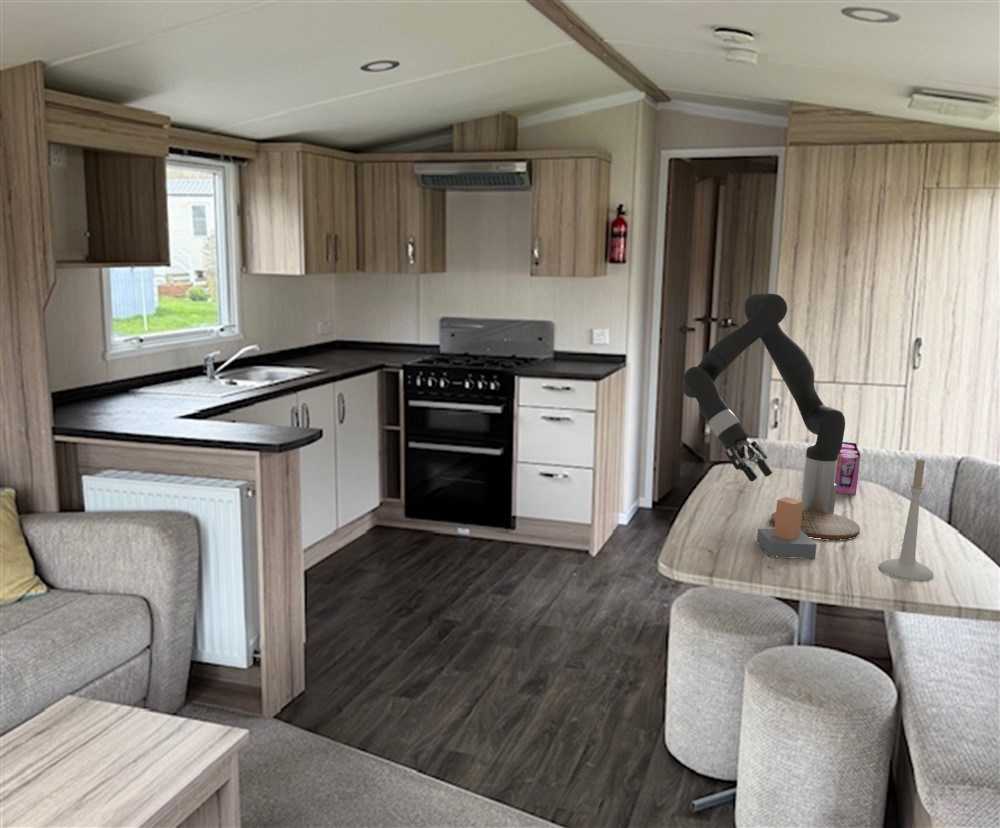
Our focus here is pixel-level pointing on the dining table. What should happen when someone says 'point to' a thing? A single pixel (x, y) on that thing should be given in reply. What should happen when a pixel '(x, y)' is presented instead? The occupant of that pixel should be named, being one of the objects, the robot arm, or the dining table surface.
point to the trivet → (826, 525)
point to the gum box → (847, 468)
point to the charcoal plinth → (786, 545)
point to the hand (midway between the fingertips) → (762, 477)
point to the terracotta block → (788, 518)
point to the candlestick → (910, 538)
